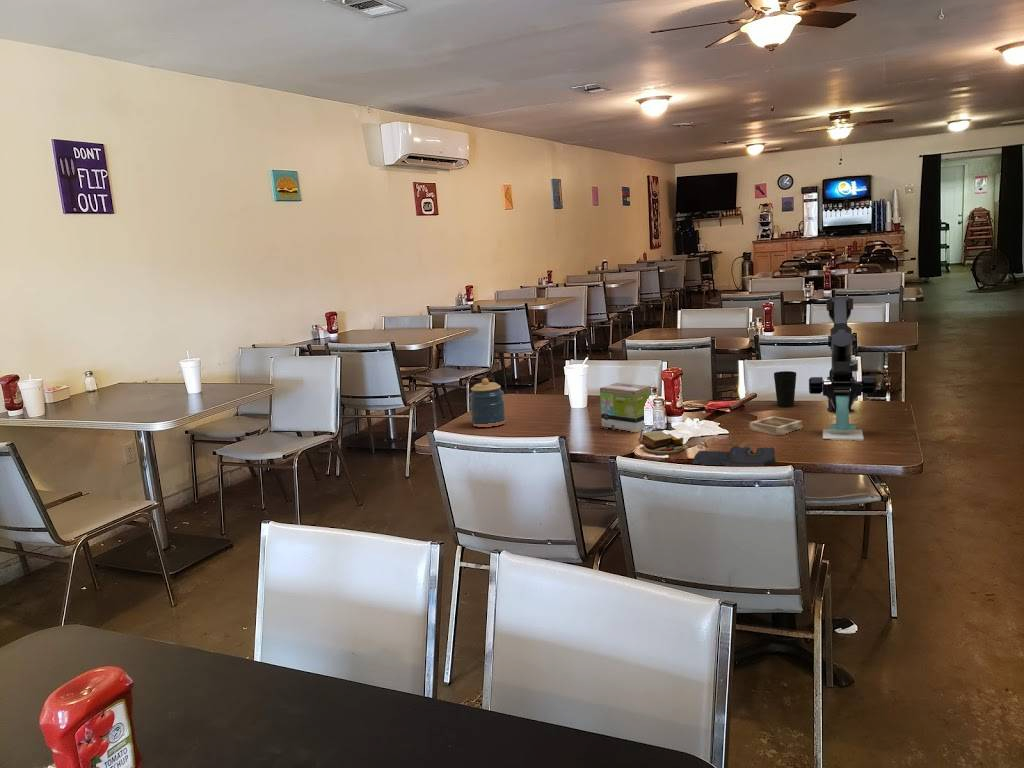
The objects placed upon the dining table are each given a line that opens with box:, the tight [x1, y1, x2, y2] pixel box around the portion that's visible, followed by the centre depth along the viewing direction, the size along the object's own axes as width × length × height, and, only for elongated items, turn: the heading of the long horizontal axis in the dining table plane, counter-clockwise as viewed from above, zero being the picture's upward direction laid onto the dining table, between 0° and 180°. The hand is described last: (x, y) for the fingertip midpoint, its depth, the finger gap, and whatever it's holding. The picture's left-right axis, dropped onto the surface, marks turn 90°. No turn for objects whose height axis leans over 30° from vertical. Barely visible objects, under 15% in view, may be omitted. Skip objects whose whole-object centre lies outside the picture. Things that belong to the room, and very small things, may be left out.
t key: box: [829, 395, 856, 431], centre depth 226 cm, size 4×7×10 cm, turn 68°
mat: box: [822, 428, 865, 442], centre depth 227 cm, size 11×11×1 cm
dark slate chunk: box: [692, 445, 776, 466], centre depth 207 cm, size 15×22×5 cm
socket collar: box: [749, 415, 804, 436], centre depth 240 cm, size 11×11×2 cm
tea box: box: [599, 382, 652, 431], centre depth 257 cm, size 15×10×15 cm, turn 45°
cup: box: [773, 370, 797, 408], centre depth 271 cm, size 8×8×12 cm
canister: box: [468, 377, 507, 424], centre depth 279 cm, size 13×13×18 cm
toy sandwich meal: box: [639, 430, 686, 455], centre depth 228 cm, size 12×14×5 cm
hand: (842, 408), depth 224 cm, fingers closed on t key, 4 cm apart
